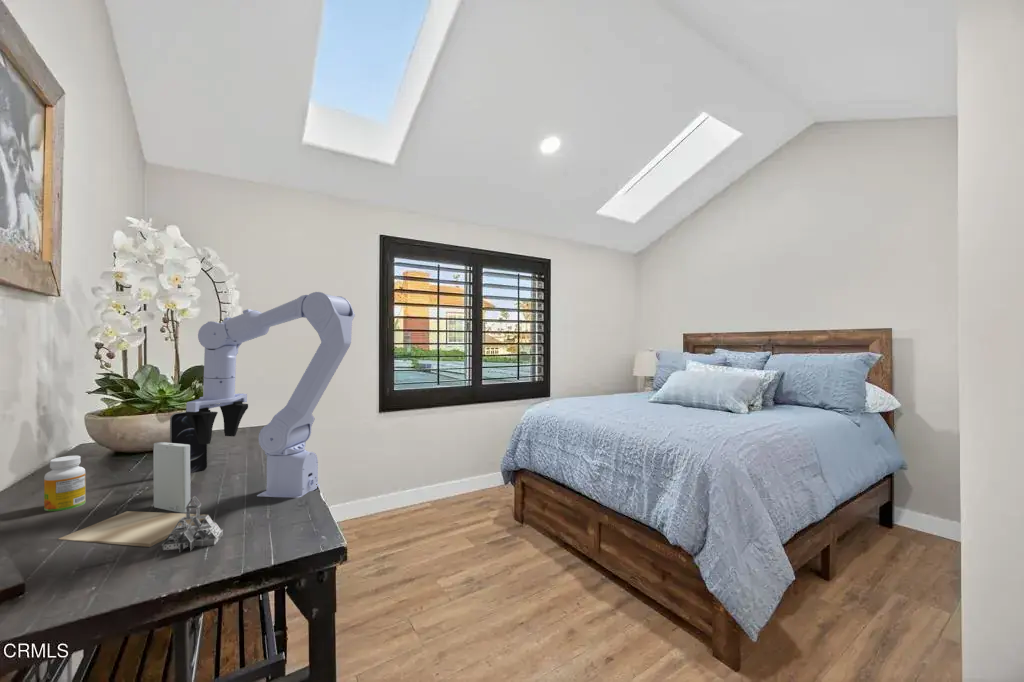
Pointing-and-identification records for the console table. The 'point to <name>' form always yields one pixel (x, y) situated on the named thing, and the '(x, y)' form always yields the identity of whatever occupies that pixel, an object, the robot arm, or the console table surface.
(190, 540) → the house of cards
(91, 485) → the console table surface
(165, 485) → the external hard drive
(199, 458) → the smartphone
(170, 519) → the birch board
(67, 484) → the supplement bottle
